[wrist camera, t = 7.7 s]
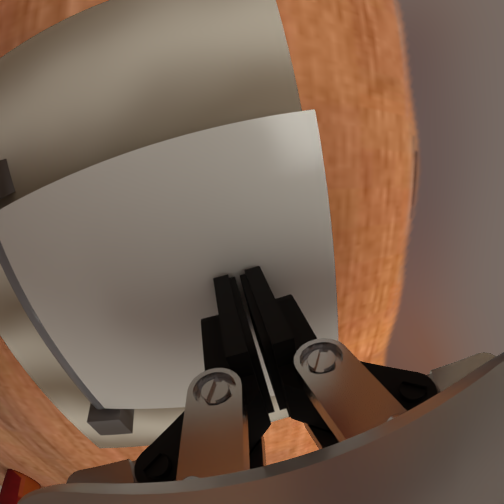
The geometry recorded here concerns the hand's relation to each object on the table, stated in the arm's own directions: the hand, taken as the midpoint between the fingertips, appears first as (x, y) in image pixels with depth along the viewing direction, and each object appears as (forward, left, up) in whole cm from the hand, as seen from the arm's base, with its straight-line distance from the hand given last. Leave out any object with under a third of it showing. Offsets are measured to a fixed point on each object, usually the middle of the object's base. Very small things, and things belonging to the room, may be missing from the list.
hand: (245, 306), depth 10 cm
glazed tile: (0, -10, -2) cm, 10 cm away
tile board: (0, -5, -4) cm, 7 cm away
